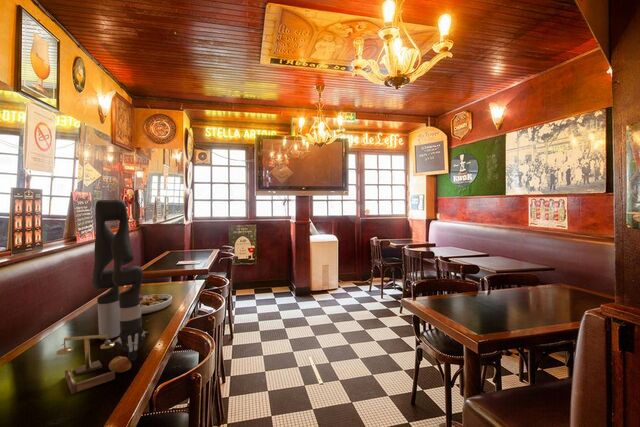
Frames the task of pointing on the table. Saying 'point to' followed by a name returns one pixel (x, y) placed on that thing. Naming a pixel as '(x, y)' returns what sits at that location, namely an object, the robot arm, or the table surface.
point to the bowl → (154, 302)
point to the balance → (86, 353)
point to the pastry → (120, 364)
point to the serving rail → (87, 381)
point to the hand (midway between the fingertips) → (133, 359)
